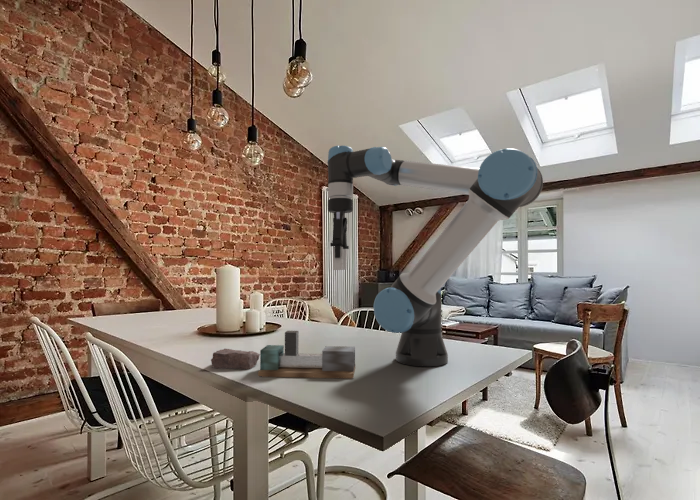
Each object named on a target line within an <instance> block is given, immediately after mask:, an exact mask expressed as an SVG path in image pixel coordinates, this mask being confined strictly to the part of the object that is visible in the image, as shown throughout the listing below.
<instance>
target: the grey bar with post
mask: <svg viewBox="0 0 700 500" xmlns="http://www.w3.org/2000/svg"><path fill="white" fill-rule="evenodd" d="M299 336H300V335H299V330H286V331H285V332H284V353H279V367H291V368H322V353H300V352H299Z"/></svg>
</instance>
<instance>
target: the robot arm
mask: <svg viewBox="0 0 700 500" xmlns="http://www.w3.org/2000/svg"><path fill="white" fill-rule="evenodd" d="M327 155H328V156H327V162H326V163H327V174H328V175H327V178H328V179H327V180H328V181H327V184H328V185H327V186H328V187H326V188H325V191H326V192H327V197H328V200H327V212H328V213H331V214H333V218H332V223H333V225H332V227H333V228H332V240H331V242H330V247H332V271H344V270H345V271H346V270H347V266H348V265H347V258H348V257H347V255H348V254H347V250H349V249H350V247H349V245H348V241H347V231H348V227H347V226H348V218H347V217H346V214H349V213H353V211H354V201H353V198H354V183H353V182H354V179H356V178H362V177H370V178H372V179H375V180H377V181H380V182H382V183H384V184H386V185H390V186H395V187H397V186H404V187H405V186H406V187H413V188H417V189H418V188H419V189H426V190H432V191H433V190H434V191H440V192H446V193H452V194H459V195H460V194H462V195H468V199H467V201H466V202H465V203H464V204H463V206H462V207H461V209H460V210H459V211H458V212H457V214H455V216H454V217H453V218H452V219H451V221H450V222H449V223H448V224H447V225H446V227H445V228H444V230H442V232H441V233H440V235H439V236H438V237H436V239H435V240H434V242H433V243H432V244H431V246H429V247H428V248H427V250H426V252H425V253H424V254H423V256H422V257H421V258H420V259H419V260H418V262H417V263H416V264H415V265H414V266H413V267H412V268H411V270H410V272H409V271H408V272H402V273H401V274H400V275H399V276H398V277H397V279H396V280H395V281H394V282H393V283H392V284H391V286H390V287H386V288H384V289H382V290H381V291H379V292H378V293H377V294H376V296H375V299H374V302H373V314H374V318H375V319H376V321H377V323H378V324H379V326H380V327H381V328H382V329H384V330H385V331H386V332H389V333H394V334H399V333H400V334H401V335H400V337H399V341H398V344H397V347H396V351H395V361H396V362H398V363H400V364H403V365H405V366H406V365H408V366H413V367H438V366H444V365H446V364H447V363H448V362H449V355H448V350H447V348H446V346H445V341H444V339H443V335H442V297H443V296H442V290H441V289H442V287H443V286H444V285H445V284H446V283H447V281H448V280H449V279H450V278H451V277H452V275H453V274H454V273H455V272H456V271H457V270H458V268H459V267H460V266H461V265H462V263H464V261H466V259H467V258H468V257H469V256H470V255H471V254H472V252H473V251H474V250H475V248H476V247H478V245H479V244H480V243H481V241H482V240H483V239H484V238H485V237H486V236H487V235H488V234H489V232H490V231H491V230H492V229H493V228H494V226H495V225H496V224H497V223H498V222H500V221H505V220H509V219H510V218H511V217H512V216H513V215H514V213H515V212H516V211H517V210H518V209H519V208H522V207H526V206H529V205H530V204H532V203H533V202H535V201H536V200H537V199H538V198H539V196H540V195H541V193H542V190H543V187H544V180H543V175H542V173H541V171H540V169H539V168H538V167H537V163H536V162H535V161H534V158H532V157H531V156H529V154H527V153H526V152H524V151H522V150H520V149H517V148H501V149H498V150H496V151H494V152H492V153H490V154H489V155H488V156H486V157H485V158H484V160H483V161H482V162H481V164H480V166H479V167H471V166H461V165H460V166H459V165H451V164H442V163H432V162H423V161H422V162H421V161H412V160H401V159H394V158H392V155H391V153H390V151H389V149H388V148H387V147H385V146H373V147H370V148H365V149H361V150H355V151H354V150H353V148H352V147H351V146H348V145H334V146H332V147H330V148H329V150H328V154H327ZM347 271H348V270H347Z"/></svg>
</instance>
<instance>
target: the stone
mask: <svg viewBox="0 0 700 500" xmlns="http://www.w3.org/2000/svg"><path fill="white" fill-rule="evenodd" d="M258 360H260V353H258V352H256V351H253V350H250V351H246V350H238V349H232V348H231V349H230V348H223V349H219V350H216V351H214V352H213V353H212V358H211V359H210V361H211V366H212V368H214V369H235V370H251V369H253V368H254V367H256V366H257V364H258Z"/></svg>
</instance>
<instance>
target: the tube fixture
mask: <svg viewBox="0 0 700 500" xmlns="http://www.w3.org/2000/svg"><path fill="white" fill-rule="evenodd" d="M259 350H260V353H259V354H260V356H259V362H260V363H259V364H260V366H259V370H258V371H257V377H258V376H262V377H266V378H271V377H272V378H307V379H308V378H310V379H312V378H313V379H314V378H315V379H319V378H320V379H352V378H353V379H354V378H355V371H356V346H346V345H345V346H342V345H341V346H338V345H337V346H333V345H326V346H325V345H324V347H323V349H322V351H321V354H322V368H291V367H279V353H285V344H284V345H283V344H280V345H279V344H275V345H274V344H267V345H266V346H264V347H262V348H261V349H259Z"/></svg>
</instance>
